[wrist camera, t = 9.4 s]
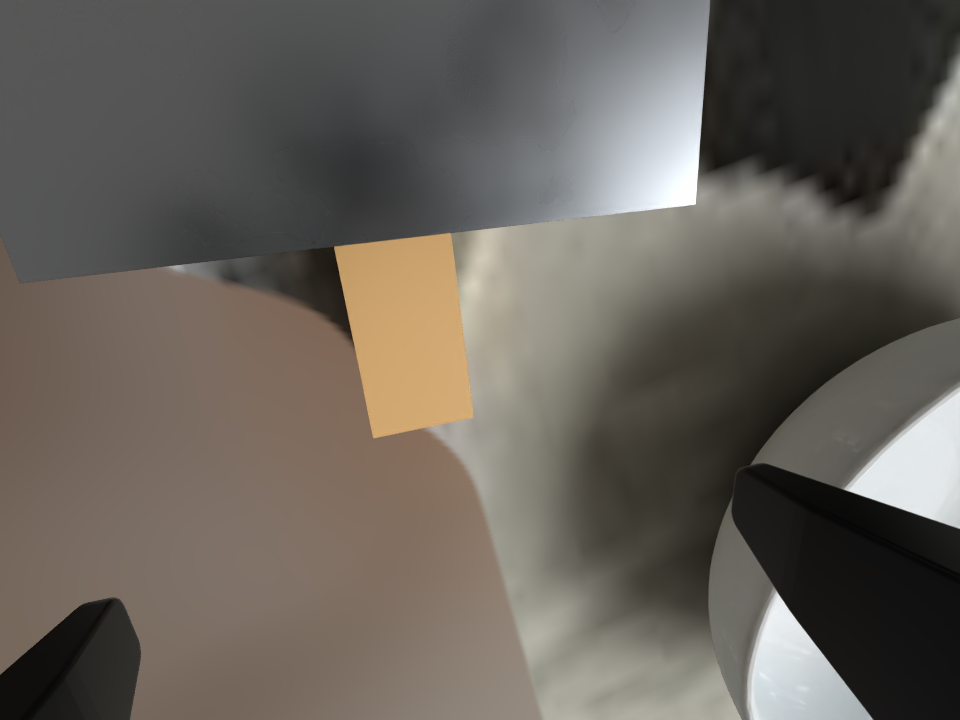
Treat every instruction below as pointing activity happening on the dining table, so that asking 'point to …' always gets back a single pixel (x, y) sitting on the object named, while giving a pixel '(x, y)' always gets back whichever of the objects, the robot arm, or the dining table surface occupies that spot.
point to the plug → (407, 331)
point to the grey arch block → (332, 122)
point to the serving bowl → (853, 467)
